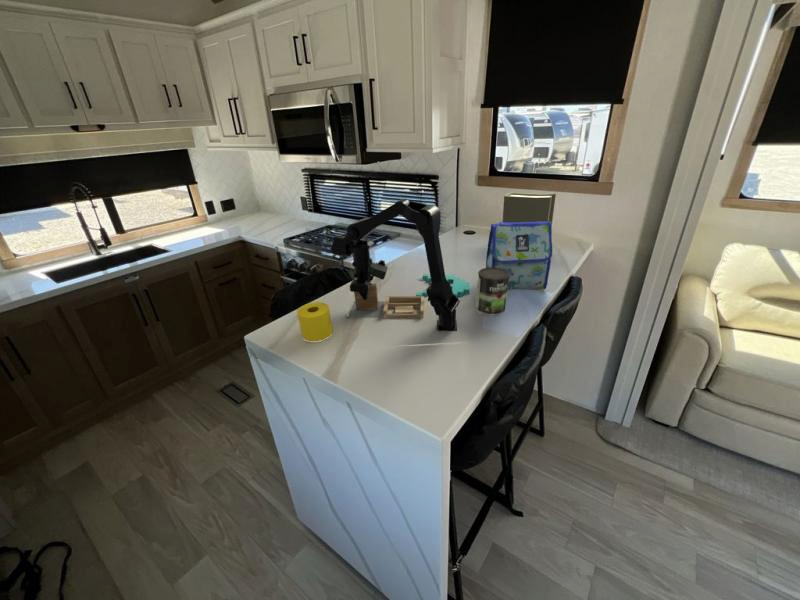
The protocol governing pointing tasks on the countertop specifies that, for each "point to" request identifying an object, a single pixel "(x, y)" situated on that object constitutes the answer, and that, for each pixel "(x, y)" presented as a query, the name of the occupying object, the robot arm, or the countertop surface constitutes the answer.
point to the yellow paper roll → (315, 321)
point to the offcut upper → (404, 310)
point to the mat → (366, 312)
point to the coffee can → (492, 291)
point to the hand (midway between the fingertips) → (365, 298)
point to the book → (528, 207)
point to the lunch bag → (521, 253)
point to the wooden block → (371, 299)
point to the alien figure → (457, 285)
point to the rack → (404, 301)
